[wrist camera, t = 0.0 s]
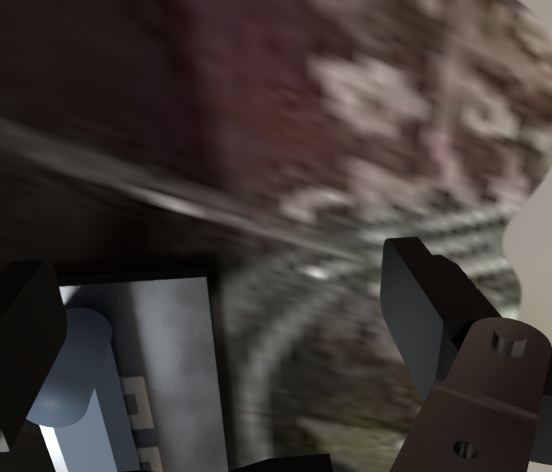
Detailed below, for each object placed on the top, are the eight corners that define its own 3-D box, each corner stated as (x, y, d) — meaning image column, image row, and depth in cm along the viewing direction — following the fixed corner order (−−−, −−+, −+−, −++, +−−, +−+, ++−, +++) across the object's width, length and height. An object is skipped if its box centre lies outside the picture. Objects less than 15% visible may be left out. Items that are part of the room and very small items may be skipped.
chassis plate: (-1, 280, 31) (-13, 296, 29) (207, 267, 32) (205, 281, 30) (76, 502, 41) (70, 522, 40) (231, 488, 42) (231, 507, 40)
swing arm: (46, 309, 30) (6, 380, 25) (106, 305, 30) (79, 374, 25) (107, 512, 39) (88, 595, 34) (153, 507, 39) (141, 590, 34)
